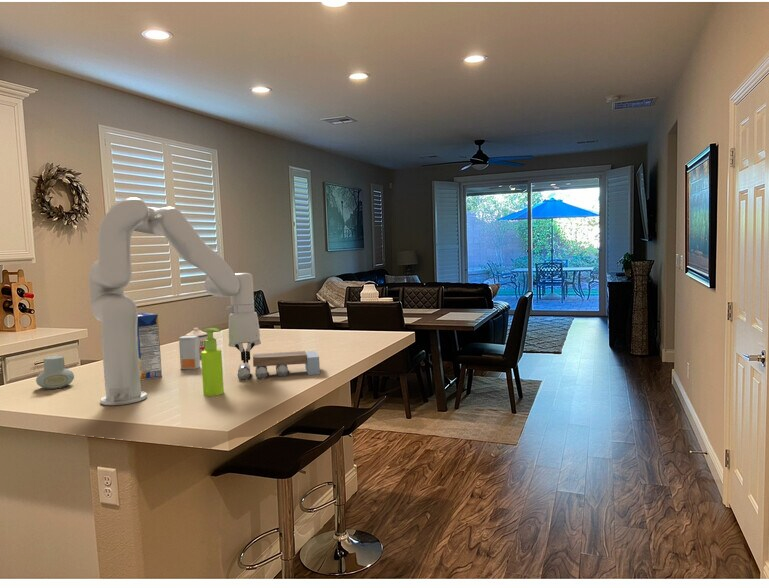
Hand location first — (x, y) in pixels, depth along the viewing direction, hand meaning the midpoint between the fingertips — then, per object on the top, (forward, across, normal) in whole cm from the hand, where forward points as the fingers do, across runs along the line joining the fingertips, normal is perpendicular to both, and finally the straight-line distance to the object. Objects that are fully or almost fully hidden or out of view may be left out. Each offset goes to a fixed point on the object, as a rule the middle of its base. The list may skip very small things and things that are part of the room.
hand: (245, 362), depth 191 cm
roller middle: (+2, +3, 0) cm, 4 cm away
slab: (+1, +11, 0) cm, 11 cm away
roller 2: (+1, +11, 0) cm, 11 cm away
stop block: (+5, +22, 0) cm, 23 cm away
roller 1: (+2, -2, 0) cm, 3 cm away
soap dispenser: (+5, -9, -21) cm, 23 cm away
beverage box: (+5, -35, +15) cm, 38 cm away
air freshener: (+5, -62, +8) cm, 63 cm away
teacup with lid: (+5, -20, +51) cm, 55 cm away
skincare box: (+5, -21, +23) cm, 32 cm away
